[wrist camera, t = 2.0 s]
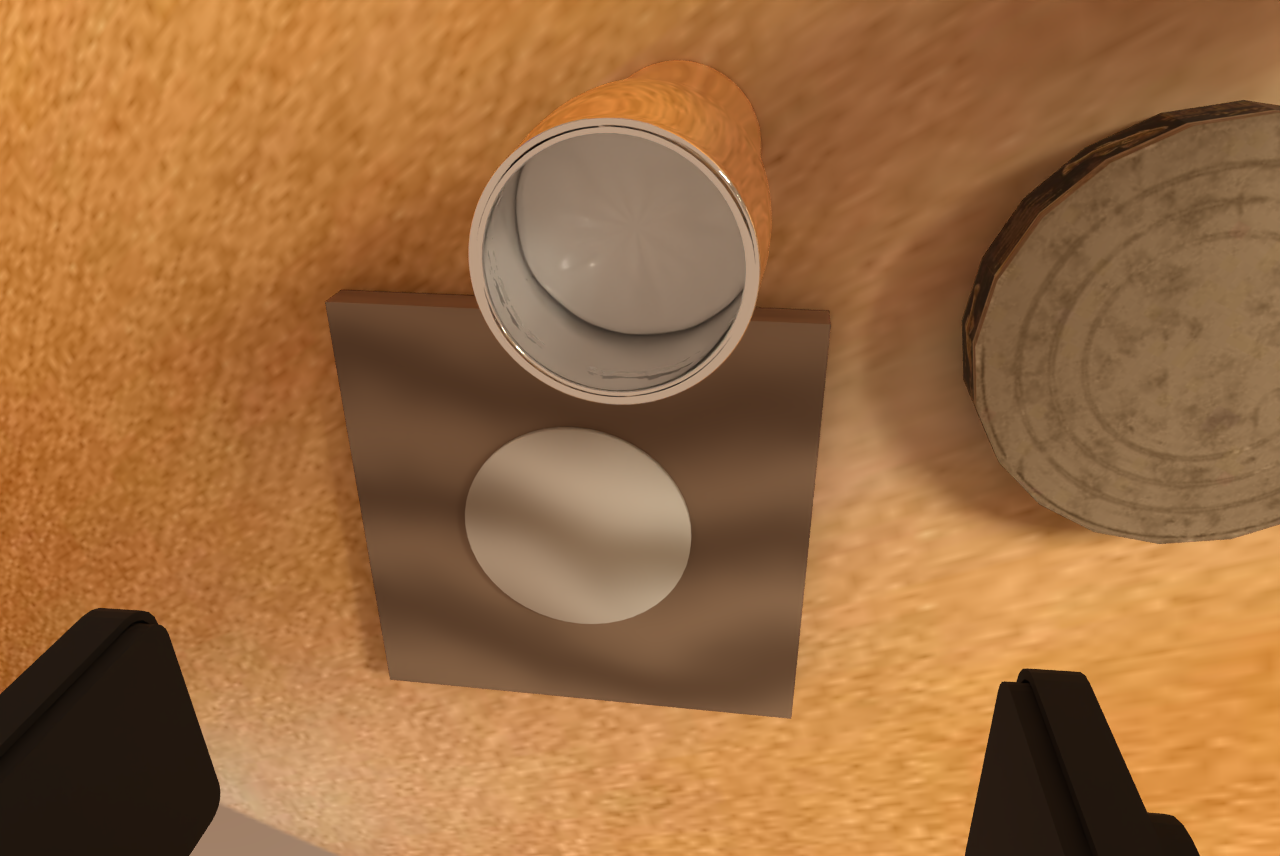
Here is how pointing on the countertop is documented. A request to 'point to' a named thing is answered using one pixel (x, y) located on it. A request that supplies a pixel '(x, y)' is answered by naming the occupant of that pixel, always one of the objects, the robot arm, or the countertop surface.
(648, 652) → the coaster board
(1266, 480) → the brown flat disc
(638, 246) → the shiny metal tumbler
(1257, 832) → the countertop surface
